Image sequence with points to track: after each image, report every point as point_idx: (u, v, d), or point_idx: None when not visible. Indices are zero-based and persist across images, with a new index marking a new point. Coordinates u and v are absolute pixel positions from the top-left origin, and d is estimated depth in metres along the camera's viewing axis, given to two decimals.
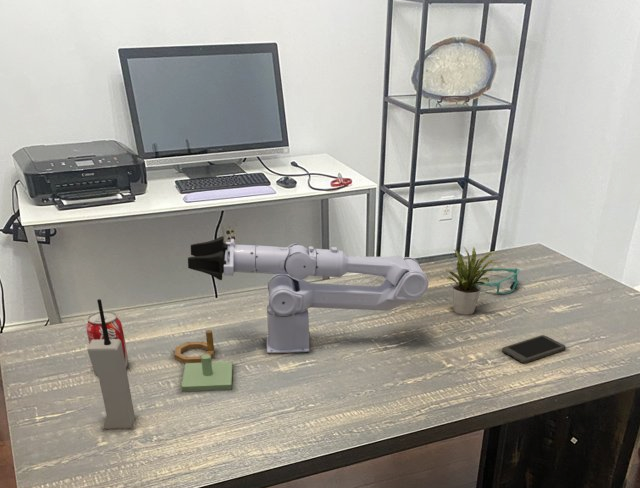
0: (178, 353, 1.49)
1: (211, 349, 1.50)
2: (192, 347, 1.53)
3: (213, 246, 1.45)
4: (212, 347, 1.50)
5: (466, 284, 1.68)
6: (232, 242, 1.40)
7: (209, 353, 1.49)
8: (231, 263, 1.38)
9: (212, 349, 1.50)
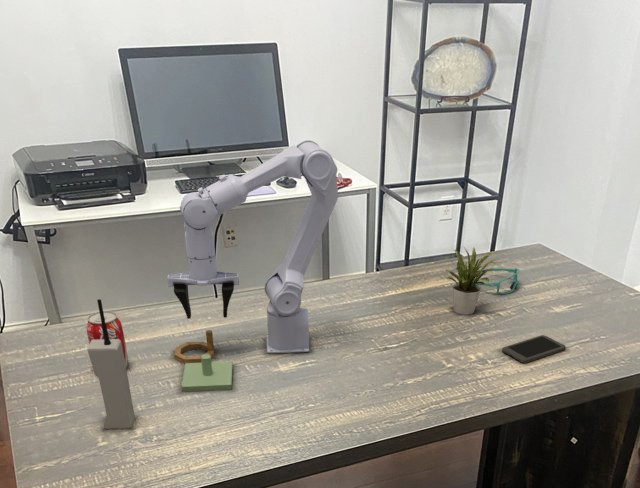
0: (178, 353, 1.49)
1: (211, 349, 1.50)
2: (192, 347, 1.53)
3: (187, 297, 1.42)
4: (212, 347, 1.50)
5: (466, 284, 1.68)
6: (206, 283, 1.38)
7: (209, 353, 1.49)
8: (232, 278, 1.41)
9: (212, 349, 1.50)
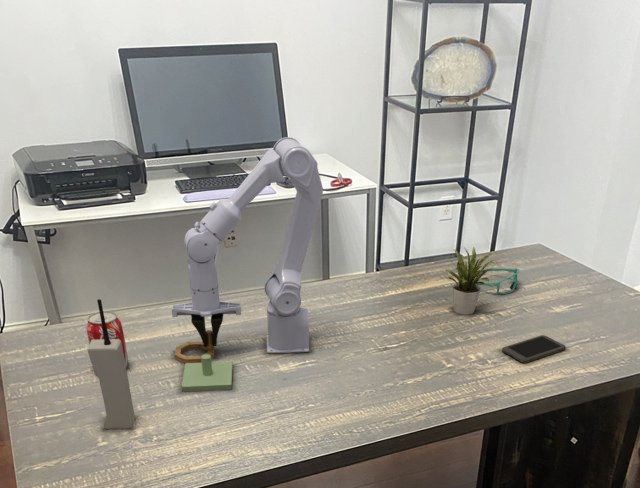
0: (178, 353, 1.49)
1: (211, 349, 1.50)
2: (192, 347, 1.53)
3: (204, 327, 1.47)
4: (212, 347, 1.50)
5: (466, 284, 1.68)
6: (210, 314, 1.42)
7: (209, 353, 1.49)
8: (234, 309, 1.45)
9: (212, 349, 1.50)
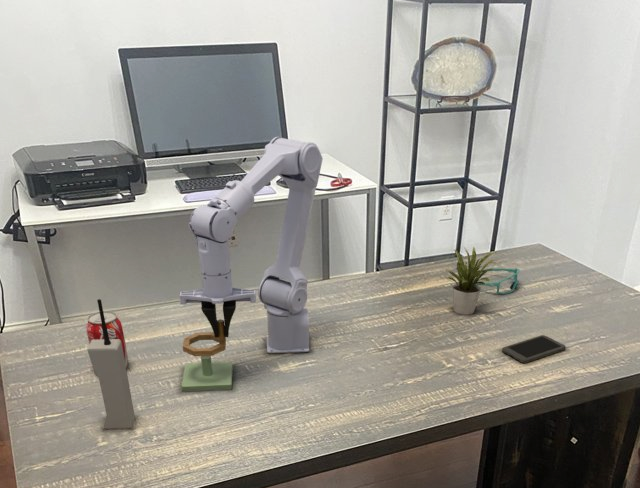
0: (187, 344, 1.36)
1: (223, 340, 1.37)
2: (201, 338, 1.40)
3: (215, 315, 1.34)
4: (224, 338, 1.37)
5: (466, 284, 1.68)
6: (222, 301, 1.29)
7: (221, 344, 1.36)
8: (248, 295, 1.32)
9: (224, 340, 1.37)
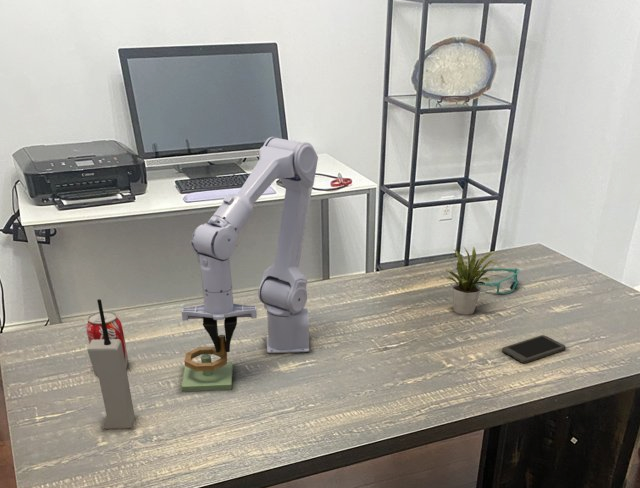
0: (188, 359, 1.38)
1: (224, 355, 1.39)
2: (203, 353, 1.42)
3: (216, 331, 1.36)
4: (225, 353, 1.39)
5: (466, 284, 1.68)
6: (223, 317, 1.31)
7: (222, 359, 1.38)
8: (249, 311, 1.34)
9: (225, 355, 1.39)
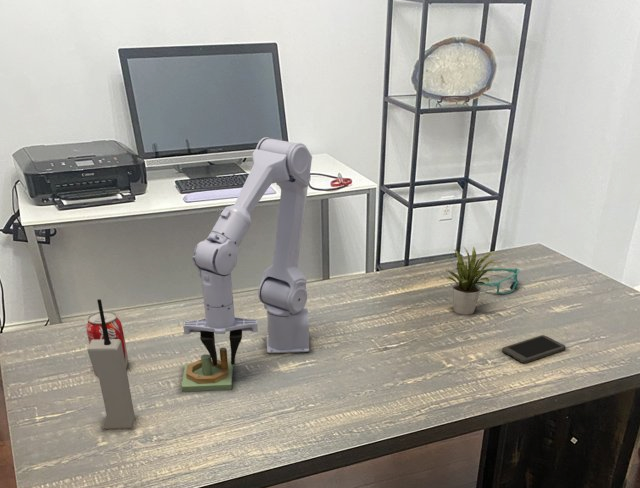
0: (190, 372, 1.39)
1: (225, 367, 1.41)
2: None
3: (213, 344, 1.37)
4: (226, 365, 1.41)
5: (466, 284, 1.68)
6: (224, 331, 1.33)
7: (223, 372, 1.40)
8: (250, 325, 1.36)
9: (226, 367, 1.41)
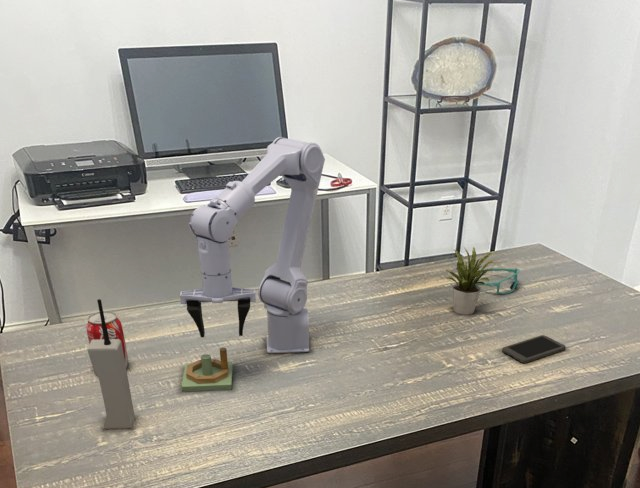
0: (190, 372, 1.39)
1: (225, 367, 1.41)
2: None
3: (200, 315, 1.34)
4: (226, 365, 1.41)
5: (466, 284, 1.68)
6: (222, 301, 1.30)
7: (223, 372, 1.40)
8: (248, 295, 1.33)
9: (226, 367, 1.41)
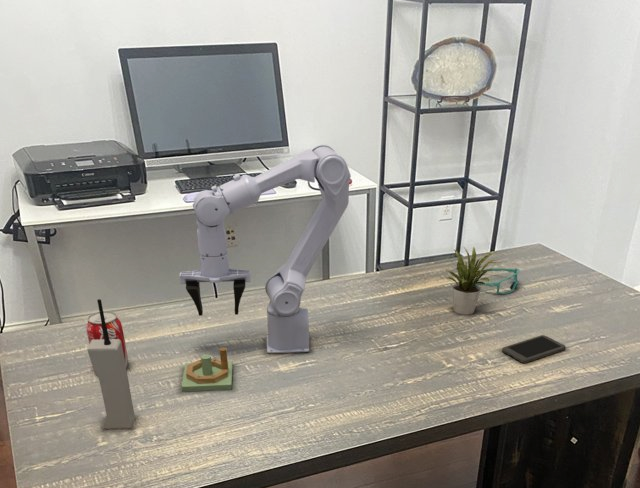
0: (190, 372, 1.39)
1: (225, 367, 1.41)
2: None
3: None
4: (226, 365, 1.41)
5: (466, 284, 1.68)
6: (219, 280, 1.39)
7: (223, 372, 1.40)
8: (243, 275, 1.42)
9: (226, 367, 1.41)
